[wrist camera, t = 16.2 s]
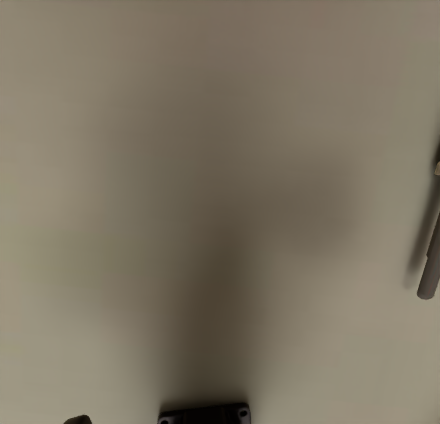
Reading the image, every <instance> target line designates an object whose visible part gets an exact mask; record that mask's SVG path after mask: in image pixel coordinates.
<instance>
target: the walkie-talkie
mask: <svg viewBox="0 0 440 424" xmlns="http://www.w3.org/2000/svg"><path fill="white" fill-rule="evenodd" d="M435 175H440V161H439V162H438V163H437V167H436V170H435ZM426 255H427V257H428V259H427V262H426V265H425V268H424V272H423V275H422V278H421V281H420V285H419V288H418V291H417V296H418V297H419V298H421V299H424V300H428V299H431V298H432V297H433V296H434V294H435V291H436V287H437V284H438V281H439V278H440V213H439V216H438V219H437V222H436V225H435V229H434V232H433V235H432V238H431V241H430V245H429V248H428V251H427V254H426Z"/></svg>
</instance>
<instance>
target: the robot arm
mask: <svg viewBox="0 0 440 424" xmlns="http://www.w3.org/2000/svg"><path fill="white" fill-rule="evenodd" d="M243 410H244V411H243ZM241 411H243V412H241ZM163 420H167V421H163ZM64 424H92V422H91V420H90V418H89V417H88V416H87V415H81V416H77V417H74V418H70V419H68V420H67V421H66V422H65V423H64ZM157 424H251V415H250V408H249V405H248V404H246V403H237V404H228V405H220V406H212V407H203V408H195V409H187V410H178V411H170V412H163V413H161V414H160V415H159V416H158V423H157Z"/></svg>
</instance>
